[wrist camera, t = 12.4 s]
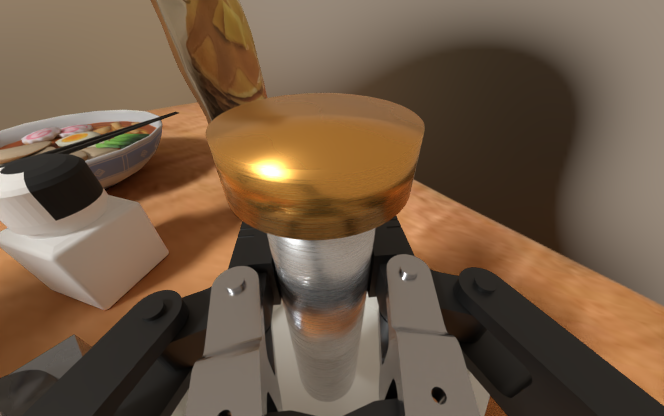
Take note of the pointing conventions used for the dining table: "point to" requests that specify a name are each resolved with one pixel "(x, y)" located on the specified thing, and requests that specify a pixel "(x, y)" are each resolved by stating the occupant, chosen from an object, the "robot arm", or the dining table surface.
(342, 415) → the tray
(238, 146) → the pin
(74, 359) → the grey flat square block
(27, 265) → the medicine bottle
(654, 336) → the dining table surface
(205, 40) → the pancake mix bag
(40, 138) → the ramen bowl
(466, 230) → the dining table surface
